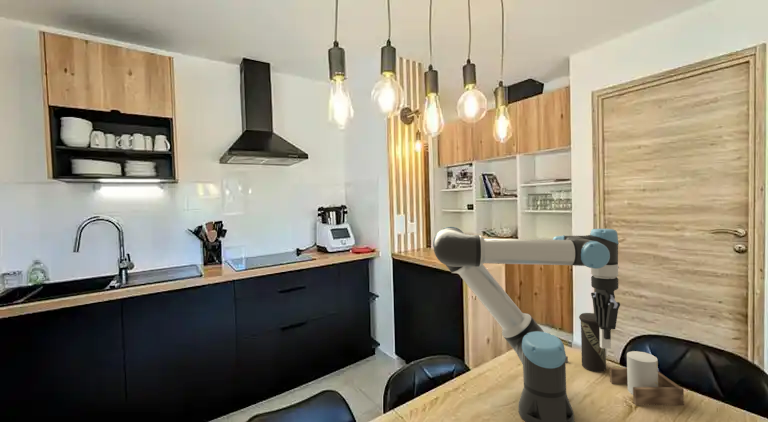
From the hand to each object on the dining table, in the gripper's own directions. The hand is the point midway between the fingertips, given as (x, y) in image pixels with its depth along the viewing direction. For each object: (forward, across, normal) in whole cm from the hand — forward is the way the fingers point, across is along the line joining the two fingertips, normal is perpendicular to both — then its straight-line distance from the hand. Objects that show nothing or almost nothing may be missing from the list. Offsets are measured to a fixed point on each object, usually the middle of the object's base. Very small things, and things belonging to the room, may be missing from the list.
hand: (605, 347), depth 116 cm
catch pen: (+15, 0, -12) cm, 19 cm away
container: (+15, +18, -5) cm, 24 cm away
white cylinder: (+15, 0, -12) cm, 19 cm away
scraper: (+16, +22, +9) cm, 28 cm away
